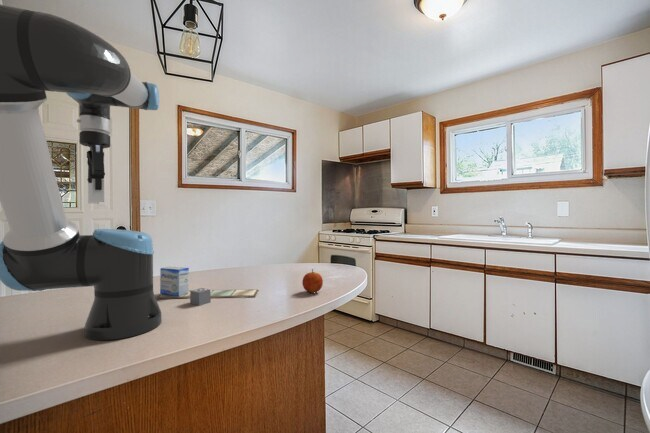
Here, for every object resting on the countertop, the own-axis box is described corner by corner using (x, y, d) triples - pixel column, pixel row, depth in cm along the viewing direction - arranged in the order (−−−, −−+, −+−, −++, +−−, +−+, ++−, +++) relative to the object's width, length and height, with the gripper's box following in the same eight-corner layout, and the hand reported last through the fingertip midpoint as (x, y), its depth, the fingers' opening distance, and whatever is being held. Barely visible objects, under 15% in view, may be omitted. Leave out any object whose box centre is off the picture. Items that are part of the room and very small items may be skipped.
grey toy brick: (210, 302, 91) (210, 289, 91) (199, 306, 88) (199, 292, 88) (201, 300, 93) (201, 287, 93) (190, 304, 90) (190, 290, 90)
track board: (259, 289, 106) (259, 288, 106) (255, 297, 97) (255, 296, 97) (168, 291, 103) (168, 290, 103) (155, 299, 94) (155, 297, 94)
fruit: (319, 296, 98) (319, 271, 98) (299, 294, 100) (299, 270, 100) (324, 290, 105) (324, 267, 105) (305, 289, 107) (305, 267, 107)
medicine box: (159, 294, 98) (159, 268, 98) (170, 291, 102) (170, 265, 102) (179, 296, 96) (178, 269, 96) (189, 293, 100) (189, 267, 100)
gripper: (77, 138, 98) (77, 203, 98) (82, 120, 80) (82, 200, 80) (105, 142, 103) (105, 204, 103) (116, 126, 85) (116, 201, 85)
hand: (95, 202), depth 91 cm, fingers open, 13 cm apart
